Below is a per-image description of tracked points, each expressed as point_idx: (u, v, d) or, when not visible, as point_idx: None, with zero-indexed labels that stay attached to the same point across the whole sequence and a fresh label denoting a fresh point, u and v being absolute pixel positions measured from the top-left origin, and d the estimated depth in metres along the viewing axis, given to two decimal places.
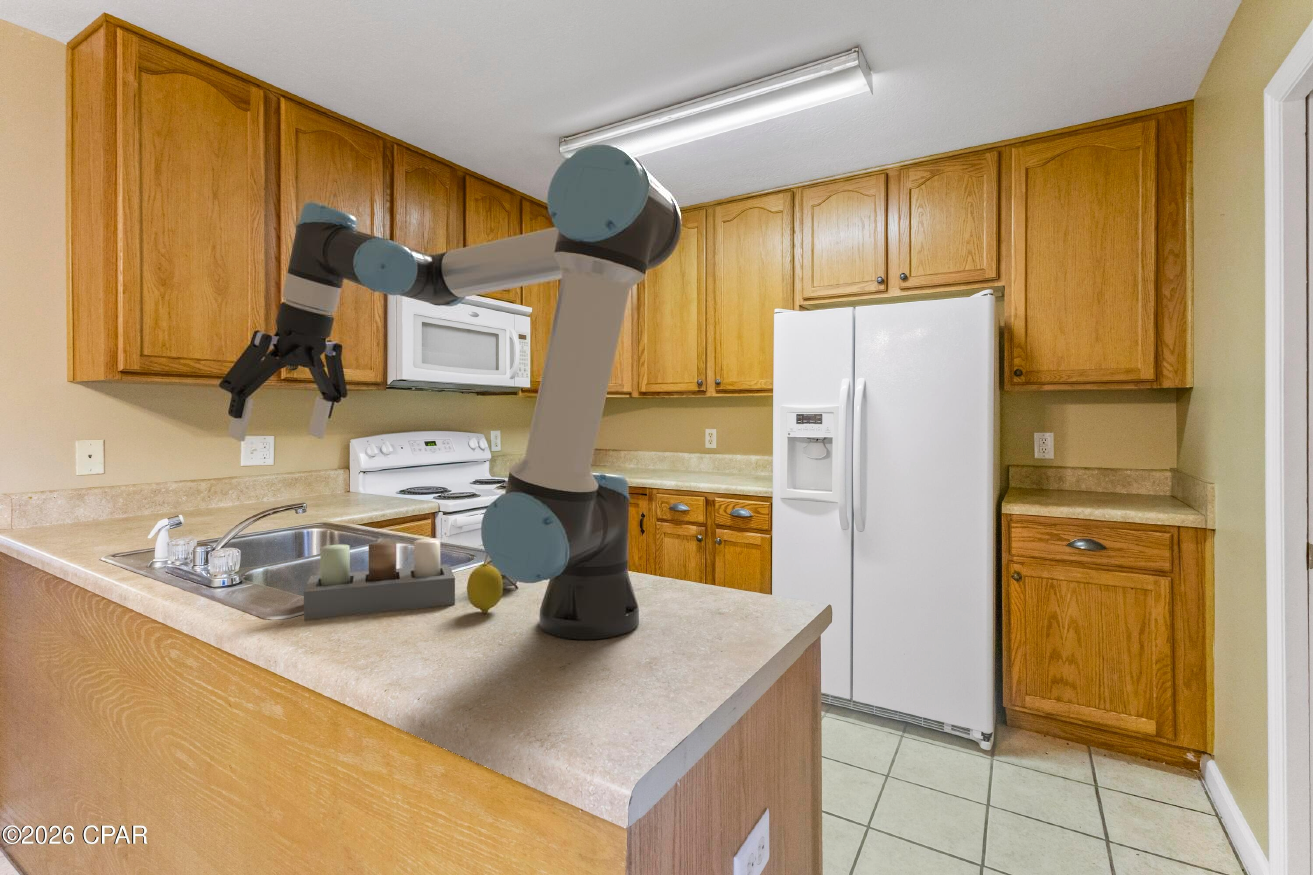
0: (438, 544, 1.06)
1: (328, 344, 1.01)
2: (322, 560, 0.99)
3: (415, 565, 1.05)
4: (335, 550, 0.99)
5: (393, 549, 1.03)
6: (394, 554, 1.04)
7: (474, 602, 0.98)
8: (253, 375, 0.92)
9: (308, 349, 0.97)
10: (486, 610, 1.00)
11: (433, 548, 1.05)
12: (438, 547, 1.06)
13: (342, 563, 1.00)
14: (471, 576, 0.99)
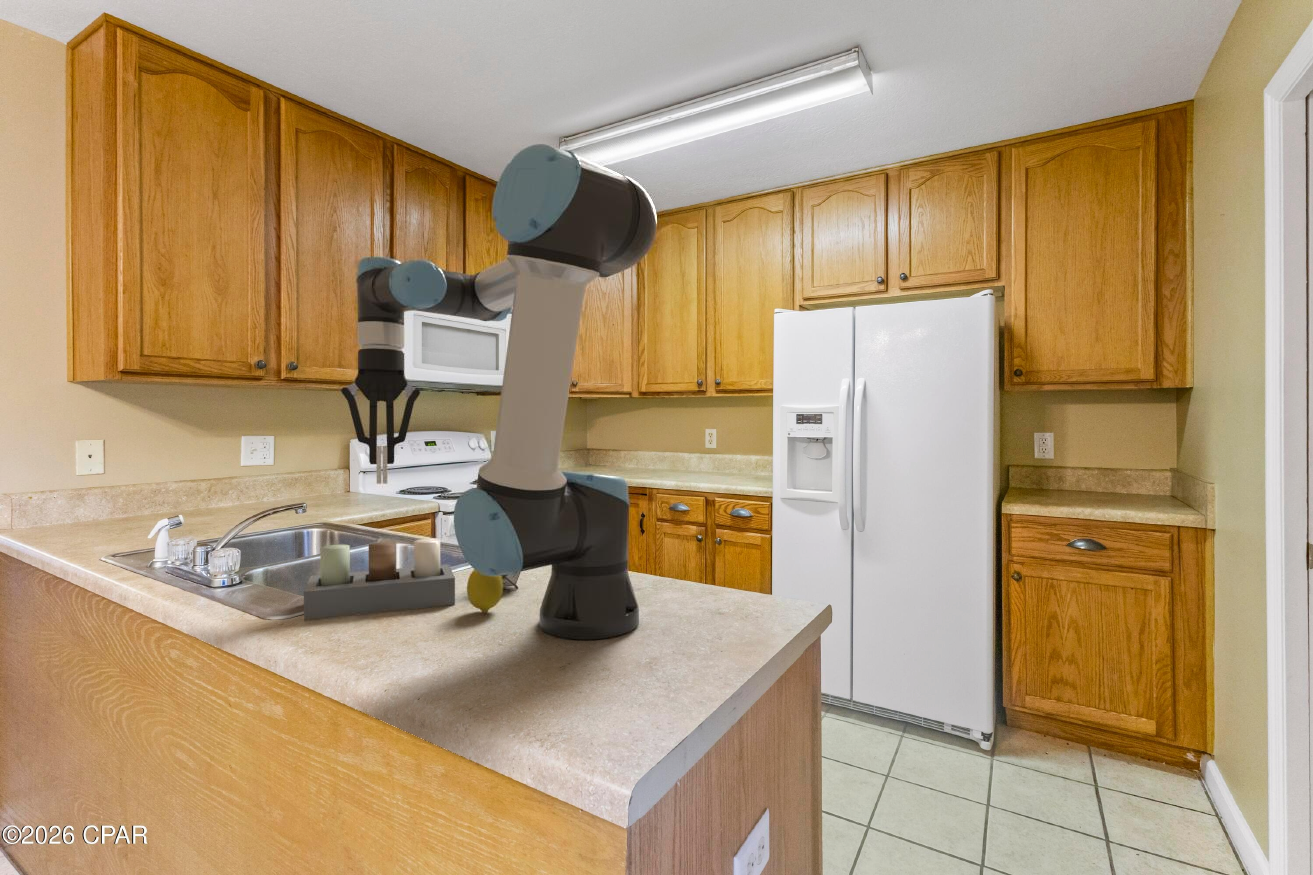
0: (438, 544, 1.06)
1: (410, 386, 1.12)
2: (322, 560, 0.99)
3: (415, 565, 1.05)
4: (335, 550, 0.99)
5: (393, 549, 1.03)
6: (394, 554, 1.04)
7: (474, 602, 0.98)
8: None
9: (386, 382, 1.09)
10: (486, 610, 1.00)
11: (433, 548, 1.05)
12: (438, 547, 1.06)
13: (342, 563, 1.00)
14: (471, 576, 0.99)
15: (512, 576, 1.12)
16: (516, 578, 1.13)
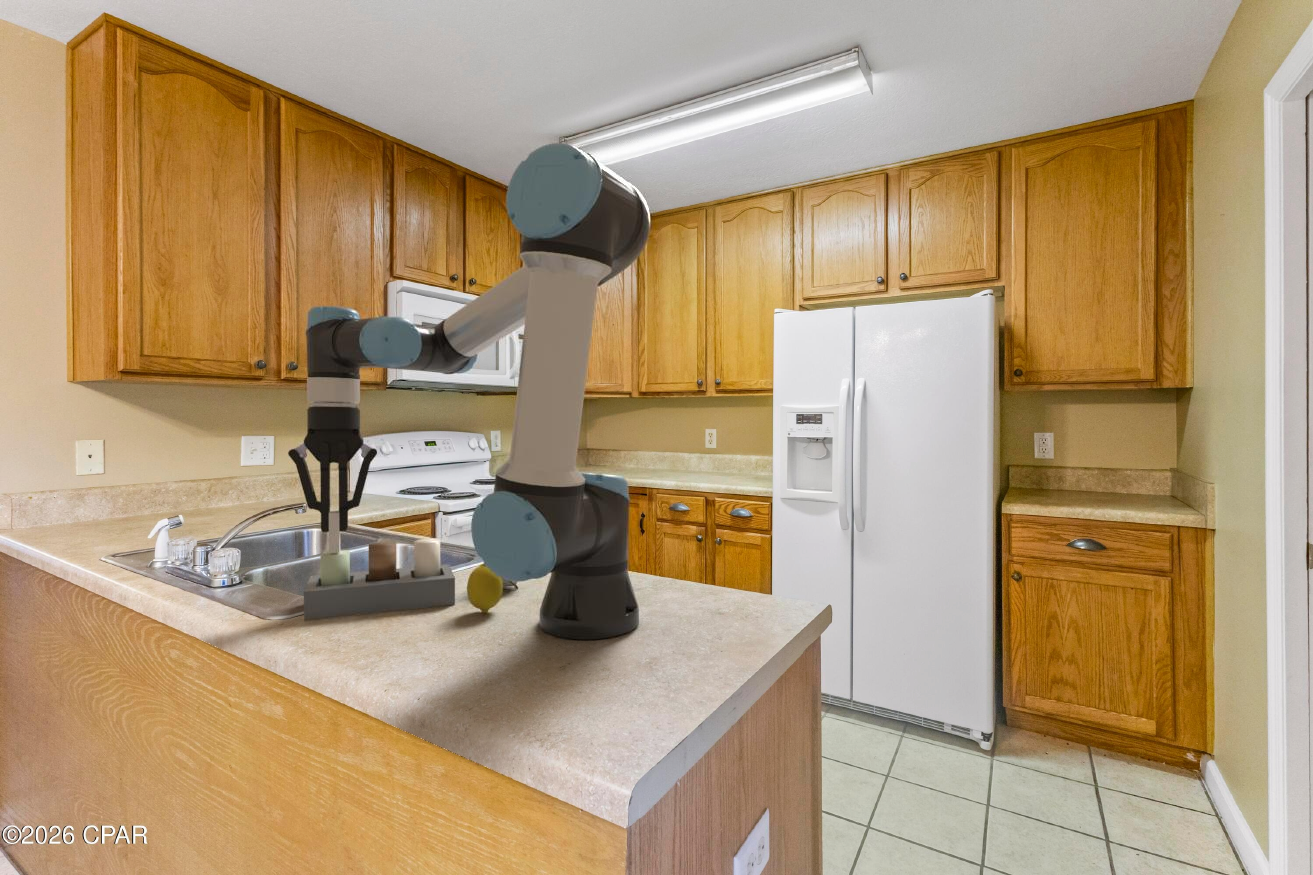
0: (438, 544, 1.06)
1: (366, 445, 1.02)
2: (322, 566, 1.00)
3: (415, 565, 1.05)
4: (335, 556, 0.99)
5: (393, 549, 1.03)
6: (394, 554, 1.04)
7: (474, 602, 0.98)
8: None
9: (339, 442, 1.00)
10: (486, 610, 1.00)
11: (433, 548, 1.05)
12: (438, 547, 1.06)
13: (342, 569, 1.00)
14: (471, 576, 0.99)
15: None
16: None
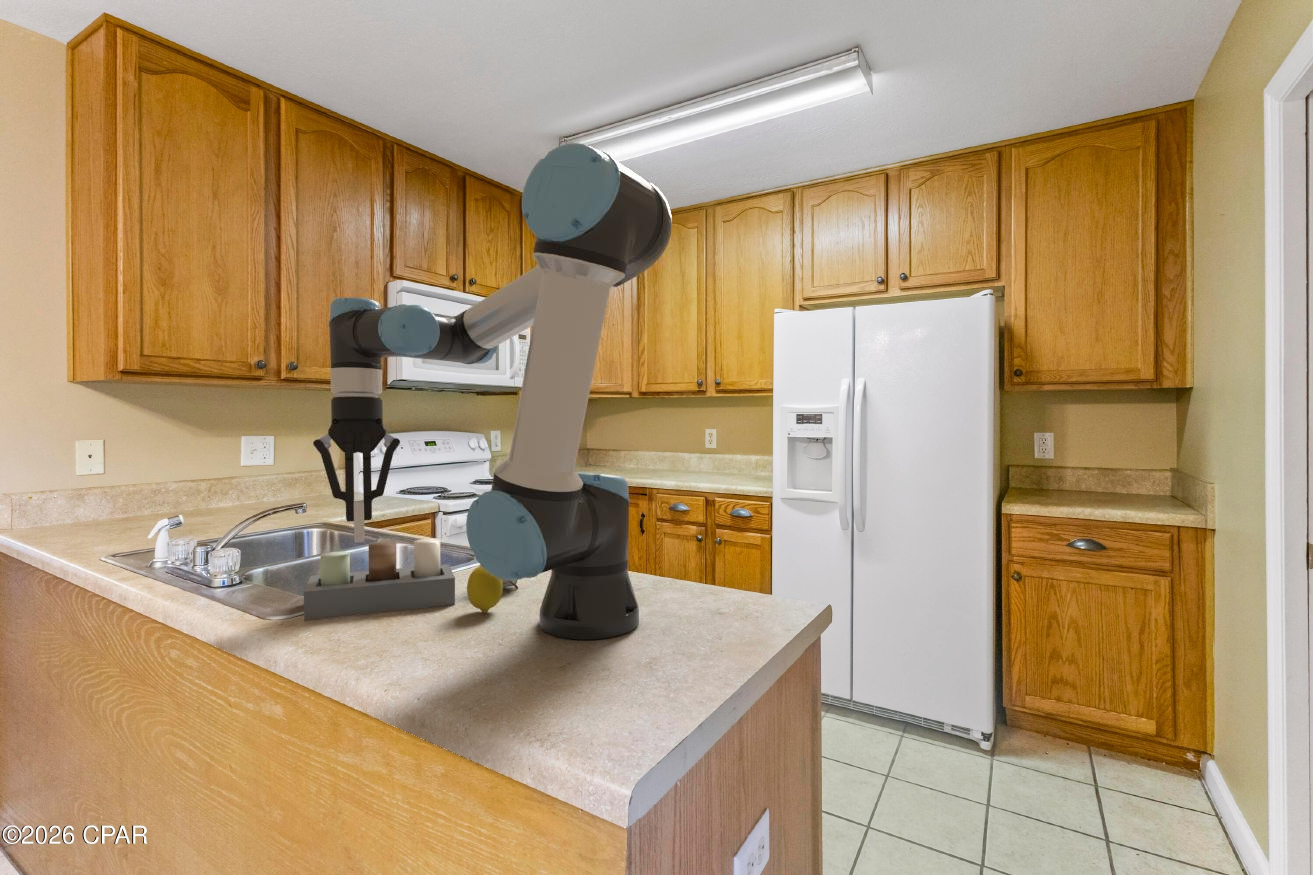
0: (438, 544, 1.06)
1: (389, 435, 1.03)
2: (322, 567, 1.00)
3: (415, 565, 1.05)
4: (335, 557, 0.99)
5: (393, 549, 1.03)
6: (394, 554, 1.04)
7: (474, 602, 0.98)
8: None
9: (363, 432, 1.01)
10: (486, 610, 1.00)
11: (433, 548, 1.05)
12: (438, 547, 1.06)
13: (342, 570, 1.00)
14: (471, 576, 0.99)
15: None
16: None
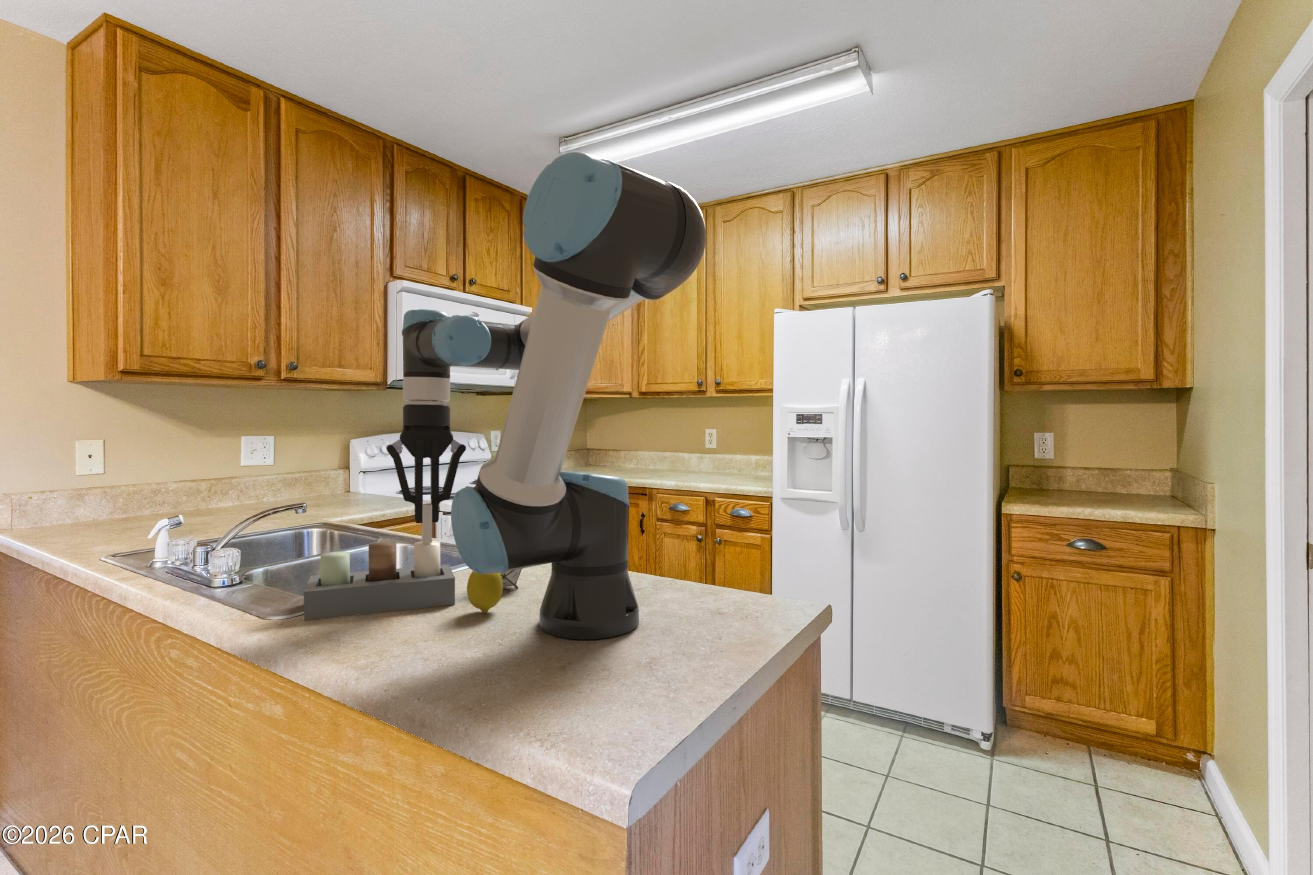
0: (438, 546, 1.06)
1: (455, 441, 1.08)
2: (322, 567, 1.00)
3: (415, 567, 1.05)
4: (335, 557, 0.99)
5: (393, 549, 1.03)
6: (394, 554, 1.04)
7: (474, 602, 0.98)
8: None
9: (432, 438, 1.05)
10: (486, 610, 1.00)
11: (433, 550, 1.05)
12: (438, 549, 1.06)
13: (342, 570, 1.00)
14: (471, 576, 0.99)
15: (512, 576, 1.12)
16: (516, 578, 1.13)
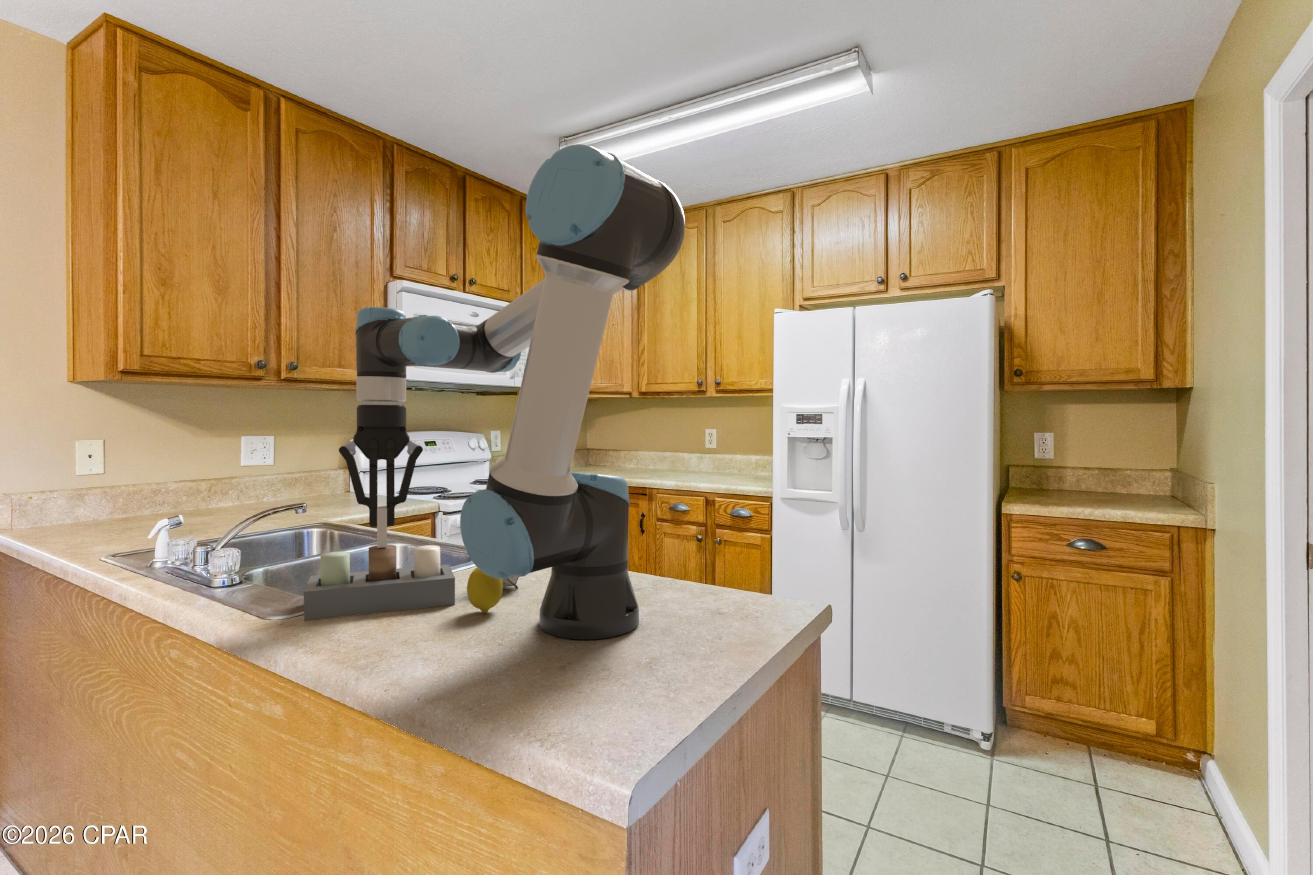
0: (438, 551, 1.06)
1: (412, 442, 1.05)
2: (322, 567, 1.00)
3: (415, 572, 1.06)
4: (335, 557, 0.99)
5: (393, 553, 1.03)
6: (394, 557, 1.04)
7: (474, 602, 0.98)
8: None
9: (387, 439, 1.03)
10: (486, 610, 1.00)
11: (433, 555, 1.05)
12: (438, 554, 1.06)
13: (342, 570, 1.00)
14: (471, 576, 0.99)
15: None
16: (516, 578, 1.13)
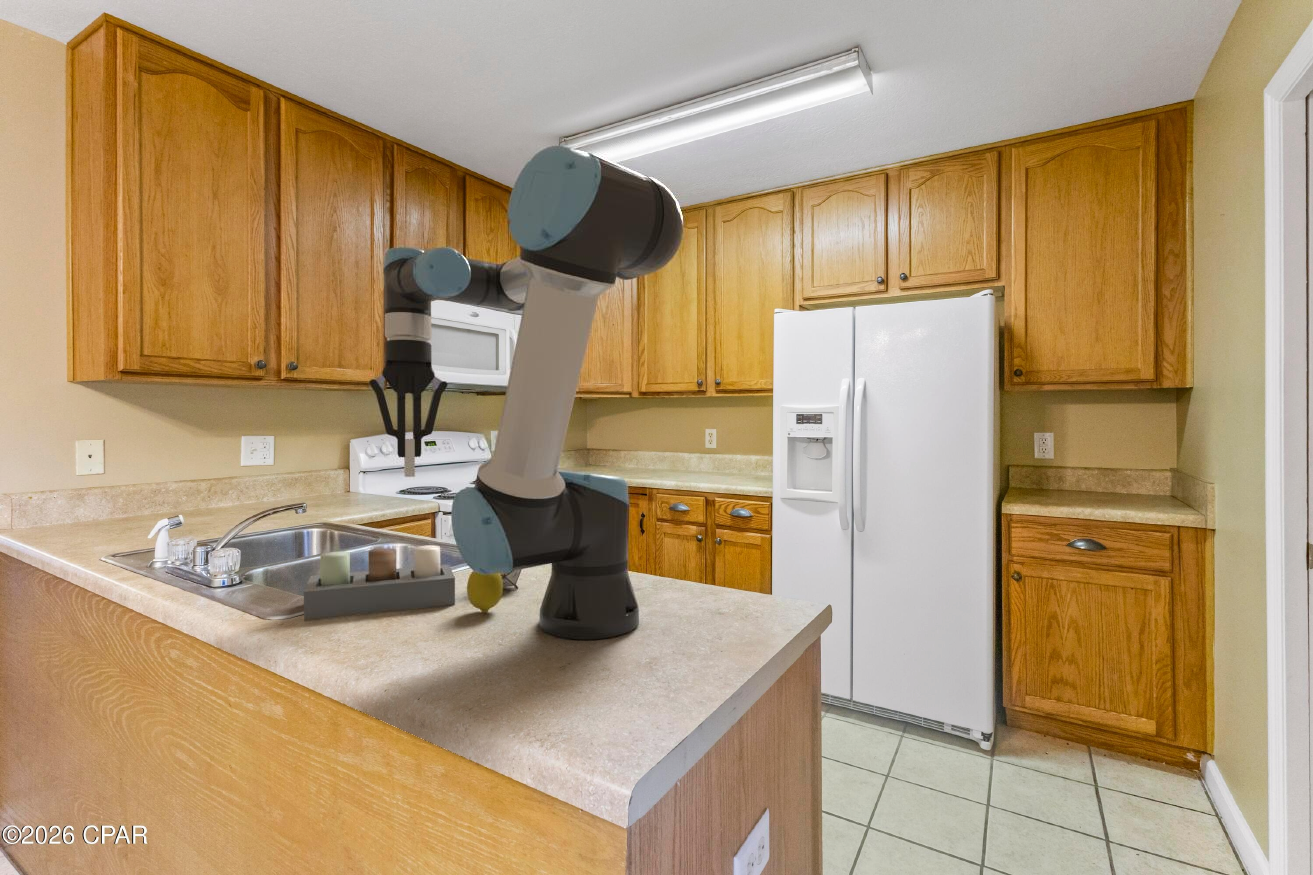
0: (438, 551, 1.06)
1: (437, 378, 1.11)
2: (322, 567, 1.00)
3: (415, 572, 1.06)
4: (335, 557, 0.99)
5: (393, 557, 1.03)
6: (394, 561, 1.04)
7: (474, 602, 0.98)
8: (397, 418, 1.08)
9: (414, 374, 1.08)
10: (486, 610, 1.00)
11: (433, 555, 1.05)
12: (438, 554, 1.06)
13: (342, 570, 1.00)
14: (471, 576, 0.99)
15: (512, 576, 1.12)
16: (516, 578, 1.13)
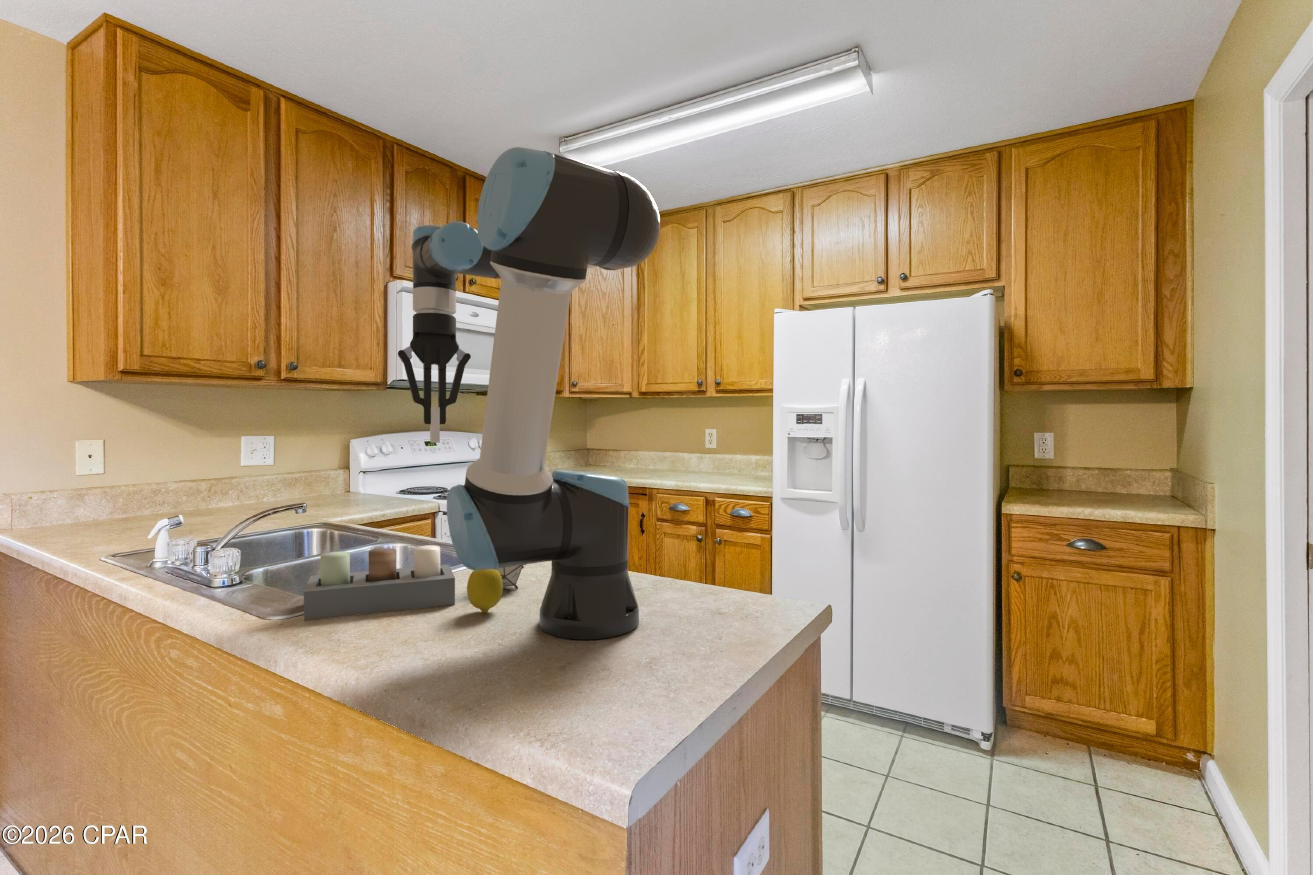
0: (438, 551, 1.06)
1: (461, 350, 1.17)
2: (322, 567, 1.00)
3: (415, 572, 1.06)
4: (335, 557, 0.99)
5: (393, 557, 1.03)
6: (394, 561, 1.04)
7: (474, 602, 0.98)
8: None
9: (440, 346, 1.15)
10: (486, 610, 1.00)
11: (433, 555, 1.05)
12: (438, 554, 1.06)
13: (342, 570, 1.00)
14: (471, 576, 0.99)
15: (512, 576, 1.12)
16: (516, 578, 1.13)
